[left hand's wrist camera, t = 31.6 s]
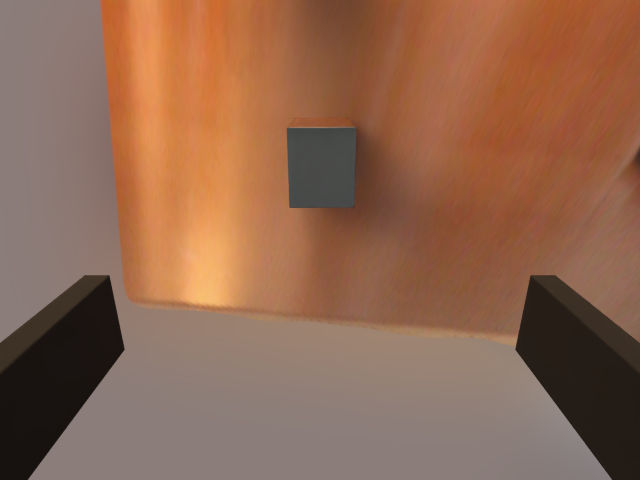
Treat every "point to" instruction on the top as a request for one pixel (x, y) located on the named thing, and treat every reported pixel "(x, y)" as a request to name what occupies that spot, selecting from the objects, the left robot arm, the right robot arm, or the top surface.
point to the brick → (321, 162)
